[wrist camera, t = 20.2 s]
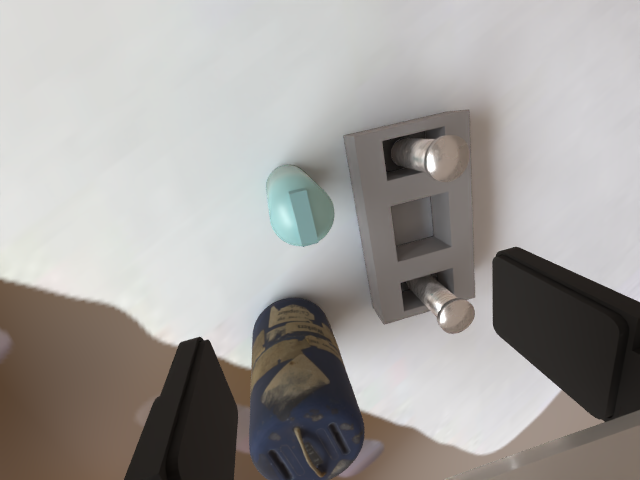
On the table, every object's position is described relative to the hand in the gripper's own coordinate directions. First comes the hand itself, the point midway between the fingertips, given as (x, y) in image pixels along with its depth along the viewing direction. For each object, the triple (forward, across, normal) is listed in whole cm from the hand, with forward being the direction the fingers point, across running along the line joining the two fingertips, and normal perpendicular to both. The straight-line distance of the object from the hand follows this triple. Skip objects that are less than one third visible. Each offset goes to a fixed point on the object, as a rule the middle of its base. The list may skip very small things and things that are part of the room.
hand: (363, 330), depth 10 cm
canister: (+26, +4, +17) cm, 32 cm away
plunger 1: (+25, -13, -1) cm, 28 cm away
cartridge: (+26, 0, 0) cm, 26 cm away
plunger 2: (+25, -13, +15) cm, 32 cm away
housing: (+26, -13, +7) cm, 30 cm away
